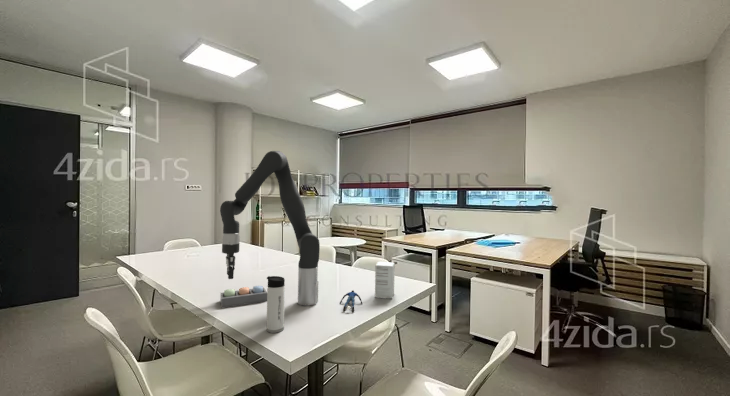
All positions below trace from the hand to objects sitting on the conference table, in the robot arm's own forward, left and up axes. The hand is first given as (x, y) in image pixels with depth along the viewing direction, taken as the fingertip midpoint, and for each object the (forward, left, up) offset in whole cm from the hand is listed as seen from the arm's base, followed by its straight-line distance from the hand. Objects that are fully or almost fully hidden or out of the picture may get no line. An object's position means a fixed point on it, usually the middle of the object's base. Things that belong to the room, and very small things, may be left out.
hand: (230, 276), depth 138 cm
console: (-6, -3, -12) cm, 14 cm away
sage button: (0, 0, -10) cm, 10 cm away
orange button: (-6, -3, -10) cm, 12 cm away
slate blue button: (-11, -6, -10) cm, 16 cm away
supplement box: (-75, -16, -13) cm, 77 cm away
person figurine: (-58, 0, -13) cm, 59 cm away
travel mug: (-31, +27, -13) cm, 43 cm away
